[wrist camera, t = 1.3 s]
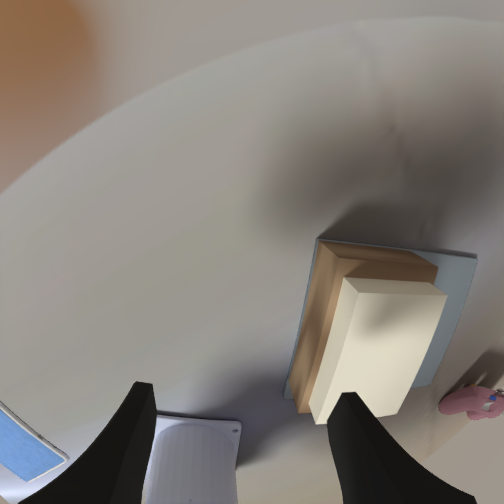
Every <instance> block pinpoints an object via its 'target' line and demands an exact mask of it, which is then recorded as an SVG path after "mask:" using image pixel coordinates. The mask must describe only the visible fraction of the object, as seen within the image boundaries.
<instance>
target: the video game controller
mask: <svg viewBox="0 0 504 504" xmlns="http://www.w3.org/2000/svg"><path fill="white" fill-rule="evenodd" d="M496 391H498V392H496ZM496 391H494V390H491V389H488V388H487V387H484V386H476V385H475V384H471V386H464V388H463V389H460V390H458V391H455V392H453V393H451V394H449V395H447V396H446V397H444V398H443V399H442V400H441V402H440V403H439V407H438V408H439V411H440V412H441V413H442V414H446V415H450V414H455V413H459V412H464V411H467V416H468V418H469V419H471V420H479V419H482V418H485V417H487V418H494V417H497V416H499V415H500V414H503V411H504V394H503V393H502V392H504V390H503V389H497V390H496ZM495 392H496V393H495Z"/></svg>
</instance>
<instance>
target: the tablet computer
mask: <svg viewBox="0 0 504 504" xmlns="http://www.w3.org/2000/svg"><path fill="white" fill-rule="evenodd" d="M68 460H69V457H68V456H67V455H66V454H65V453H63V452H62V451H60V450H59V449H57V448H55V447H54V446H53V445H52V444H50V443H49V442H48V441H46V440H45V439H44V438H42V437H41V436H40V435H38V434H37V433H36V432H35V431H33V430H32V429H31V428H30V427H28V426H27V425H26V424H25V423H24V422H22V421H21V420H20V419H19V418H18V417H17V416H15V415H14V414H13V413H12V412H11V411H10V410H9V409H8V408H7V407H5V406H4V405H3V404H2V403H1V402H0V463H1V464H2V465H4V466H5V467H6V468H7V469H9V470H10V471H11V472H13V473H14V474H15V475H17V476H18V477H20V478H21V479H23V480H24V481H26V482H31V481H33V480H35V479H36V478H38V477H40V476H42V475H44V474H46V473H48V472H50V471H51V470H53V469H55V468H57V467H59V466H60V465H62V464H64V463H66V462H67V461H68Z"/></svg>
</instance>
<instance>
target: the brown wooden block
mask: <svg viewBox="0 0 504 504" xmlns="http://www.w3.org/2000/svg"><path fill="white" fill-rule="evenodd" d="M438 268H439V267H437V266H436V265H434V264H432V263H430V262H429V261H427V260H425V259H424V258H422V257H420V256H418V255H417V254H415V253H413V252H411V251H408V250H400V249H392V248H383V247H374V246H366V245H357V244H348V243H339V242H330V241H320V240H319V242H318V248H317V253H316V259H315V264H314V269H313V274H312V279H311V284H310V289H309V294H308V299H307V304H306V309H305V313H304V318H303V323H302V327H301V332H300V336H299V341H298V345H297V349H296V353H295V358H294V361H293V365H292V369H291V374H290V377H289V379H288V381H289V385H290V388H291V391H292V395H293V398H294V401H295V405H296V408H297V412H298V414H299V413H312V412H311V409H310V406H309V400H310V397H311V394H312V391H313V388H314V385H315V382H316V378H317V375H318V372H319V369H320V365H321V362H322V358H323V355H324V352H325V348H326V344H327V341H328V337H329V334H330V330H331V326H332V322H333V318H334V315H335V311H336V307H337V303H338V298H339V294H340V290H341V286H342V281H343V277H351V278H365V279H381V280H397V281H414V282H429V283H430V284H432V285H433V286H434V282H435V279H436V275H437V272H438Z"/></svg>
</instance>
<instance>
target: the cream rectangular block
mask: <svg viewBox="0 0 504 504" xmlns="http://www.w3.org/2000/svg"><path fill="white" fill-rule="evenodd" d="M447 296H448V295H446V294H445V293H443V292H442V291H441V290H439V289H438V288H436V287H435V286H433V285H432V284H430V283H429V282H414V281H397V280H381V279H365V278H351V277H343V281H342V286H341V290H340V294H339V298H338V303H337V307H336V311H335V315H334V318H333V322H332V326H331V330H330V334H329V337H328V341H327V344H326V348H325V352H324V355H323V358H322V362H321V365H320V369H319V372H318V375H317V378H316V382H315V385H314V388H313V391H312V394H311V397H310V400H309V406H310V409H311V412H312V415H313V418H314V421H315V423H316V424H327V419H328V417H329V416H330V414H331V412H332V410H333V408H334V407H335V405H336V403H337V401H338V399H339V397H340V395H341V393H342V392H356V393H357V394H358V395H359V396H360V398H361V399H362V400H363V402H364V403H365V404H366V405H367V407H368V408H369V409H370V411H371V412H372V413H373V414H374V416H375V417H382V416H388V415H393V414H397V412H398V410H399V408H400V406H401V405H402V403H403V401H404V399H405V397H406V395H407V393H408V391H409V389H410V387H411V385H412V383H413V381H414V379H415V377H416V374H417V372H418V370H419V368H420V366H421V364H422V361H423V359H424V357H425V354H426V352H427V350H428V347H429V345H430V342H431V340H432V337H433V335H434V332H435V330H436V327H437V324H438V322H439V319H440V316H441V313H442V311H443V308H444V305H445V302H446V299H447Z"/></svg>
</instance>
